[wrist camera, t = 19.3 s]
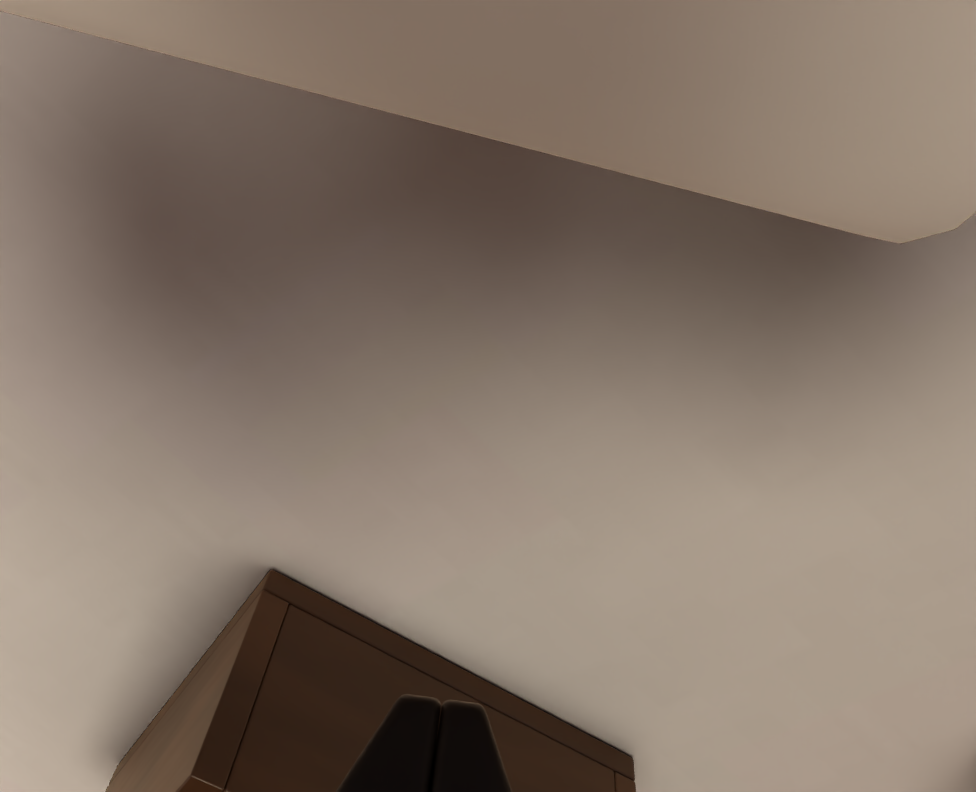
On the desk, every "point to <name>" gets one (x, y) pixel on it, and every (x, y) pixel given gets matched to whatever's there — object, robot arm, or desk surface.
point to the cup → (633, 86)
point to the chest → (332, 708)
